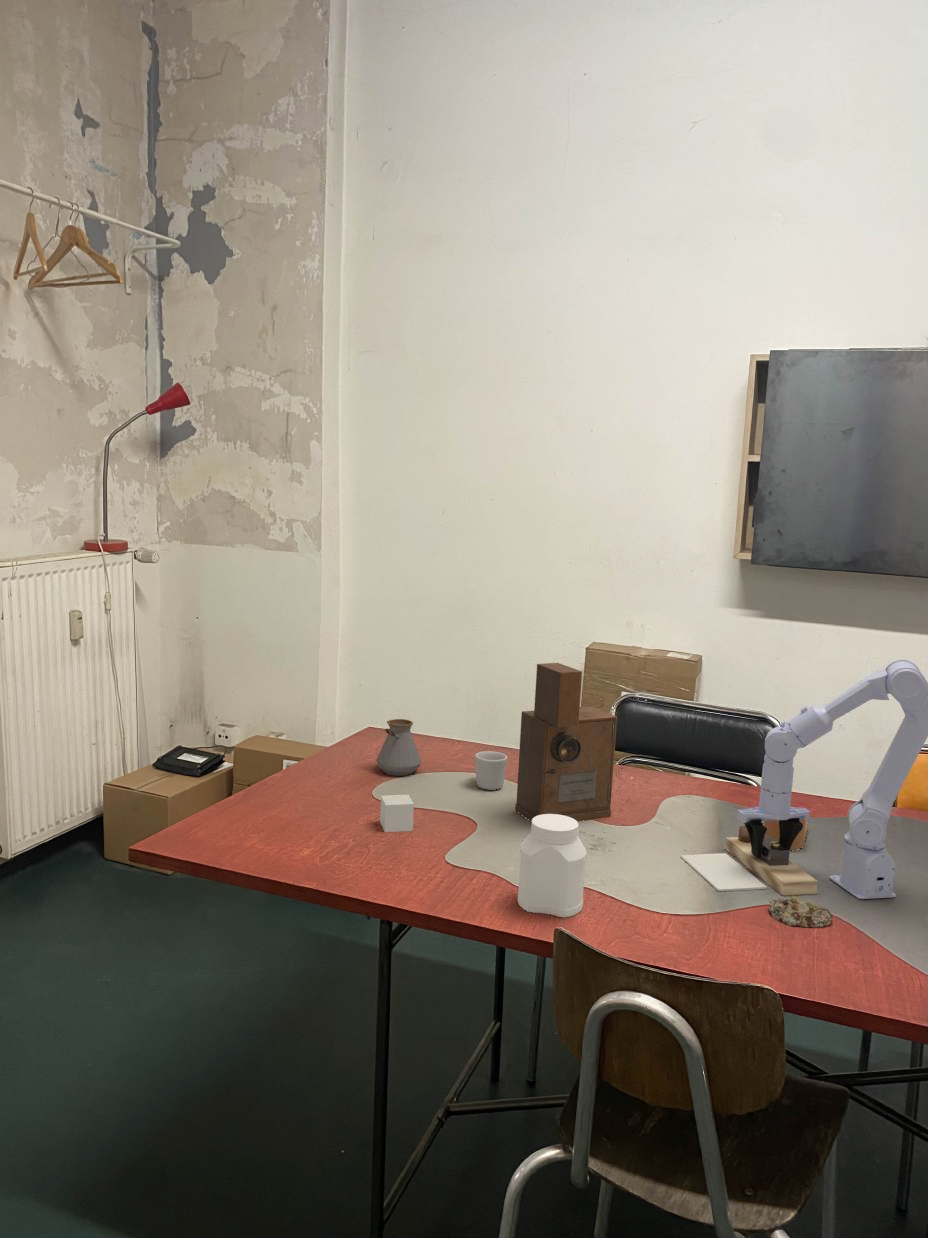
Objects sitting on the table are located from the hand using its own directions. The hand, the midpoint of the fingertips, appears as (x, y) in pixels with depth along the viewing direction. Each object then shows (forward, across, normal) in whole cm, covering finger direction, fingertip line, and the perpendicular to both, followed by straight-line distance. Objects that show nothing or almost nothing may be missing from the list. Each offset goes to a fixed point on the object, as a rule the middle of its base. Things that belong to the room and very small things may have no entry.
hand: (769, 855), depth 179 cm
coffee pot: (+3, +66, -63) cm, 91 cm away
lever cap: (+1, 0, 0) cm, 1 cm away
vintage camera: (+3, +32, -33) cm, 46 cm away
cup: (+3, +44, -55) cm, 71 cm away
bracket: (+4, -14, -17) cm, 22 cm away
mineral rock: (+4, +5, +20) cm, 21 cm away
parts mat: (+3, +10, 0) cm, 10 cm away
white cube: (+3, +70, -30) cm, 76 cm away
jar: (+3, +48, +9) cm, 49 cm away
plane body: (+3, 0, 0) cm, 3 cm away
